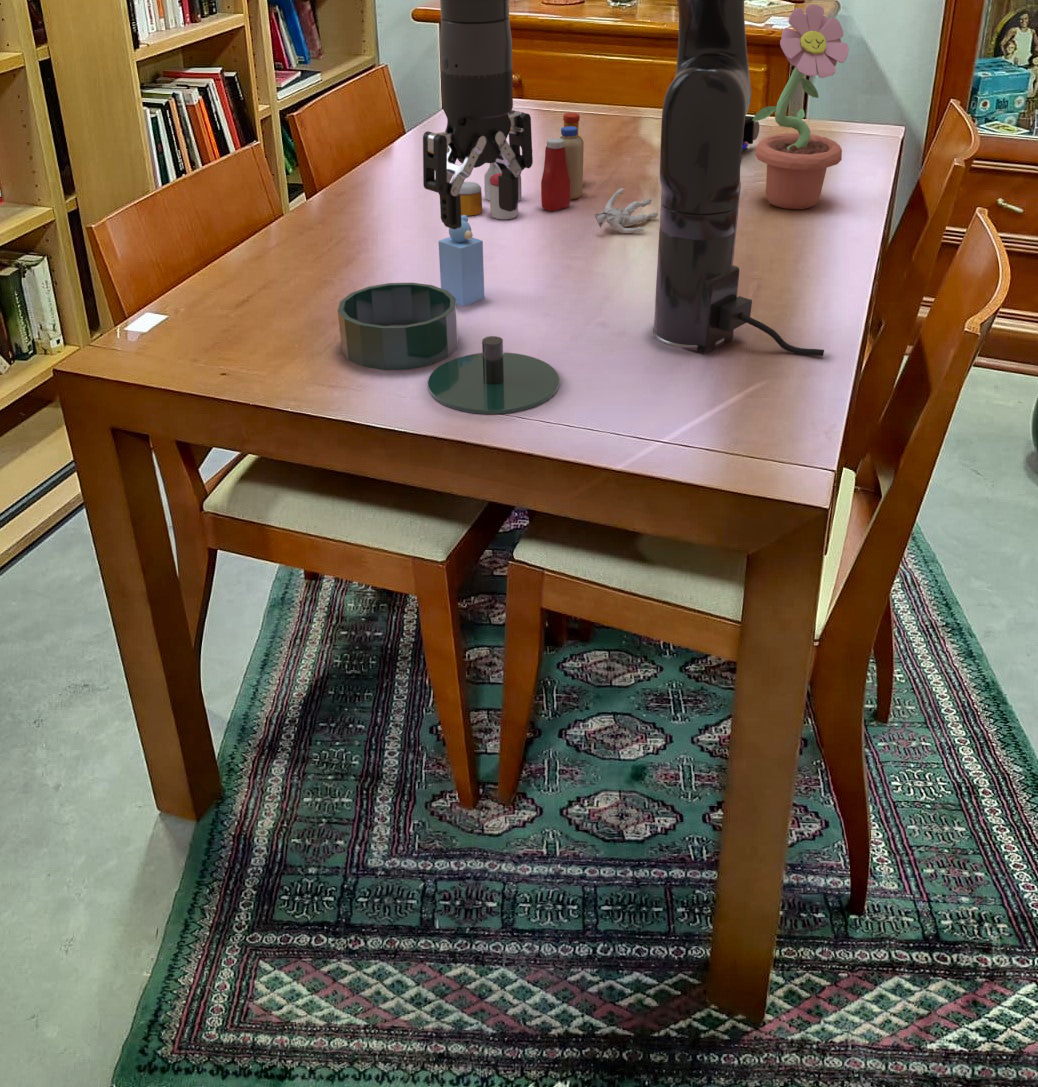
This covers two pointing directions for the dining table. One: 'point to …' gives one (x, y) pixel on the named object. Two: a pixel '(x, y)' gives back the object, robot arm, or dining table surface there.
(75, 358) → the dining table surface
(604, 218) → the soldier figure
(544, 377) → the lid
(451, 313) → the pot
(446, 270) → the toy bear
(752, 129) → the figurine character
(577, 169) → the toy food
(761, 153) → the decorative flower
